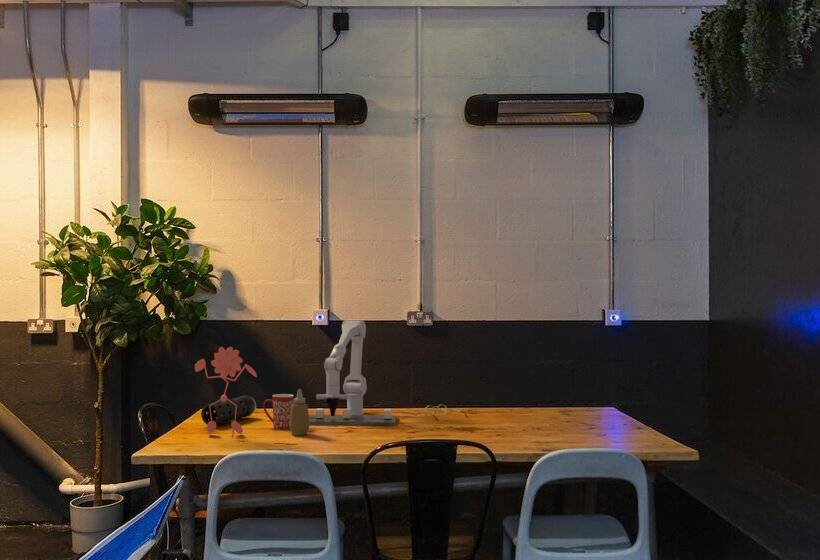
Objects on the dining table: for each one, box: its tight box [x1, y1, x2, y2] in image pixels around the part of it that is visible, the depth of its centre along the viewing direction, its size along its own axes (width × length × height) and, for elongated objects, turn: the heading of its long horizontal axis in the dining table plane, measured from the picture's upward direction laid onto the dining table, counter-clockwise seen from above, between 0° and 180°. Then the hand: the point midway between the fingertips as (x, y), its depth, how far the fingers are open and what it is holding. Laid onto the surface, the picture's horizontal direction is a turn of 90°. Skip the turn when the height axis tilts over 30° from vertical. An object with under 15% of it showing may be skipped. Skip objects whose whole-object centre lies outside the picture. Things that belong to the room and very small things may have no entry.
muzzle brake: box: [200, 395, 257, 427], centre depth 308 cm, size 10×28×10 cm, turn 158°
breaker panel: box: [309, 414, 398, 427], centre depth 310 cm, size 18×41×2 cm, turn 87°
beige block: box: [315, 407, 325, 418], centre depth 310 cm, size 4×3×4 cm
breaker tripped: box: [342, 408, 351, 418], centre depth 310 cm, size 4×3×4 cm
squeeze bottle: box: [289, 388, 311, 437], centre depth 281 cm, size 8×8×18 cm
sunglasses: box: [421, 403, 468, 422], centre depth 322 cm, size 17×15×5 cm
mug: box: [262, 393, 294, 430], centre depth 296 cm, size 13×9×14 cm
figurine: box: [194, 346, 258, 438], centre depth 282 cm, size 15×26×35 cm, turn 85°
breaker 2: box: [383, 408, 393, 419], centre depth 309 cm, size 4×3×4 cm
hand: (332, 415), depth 310 cm, fingers closed
